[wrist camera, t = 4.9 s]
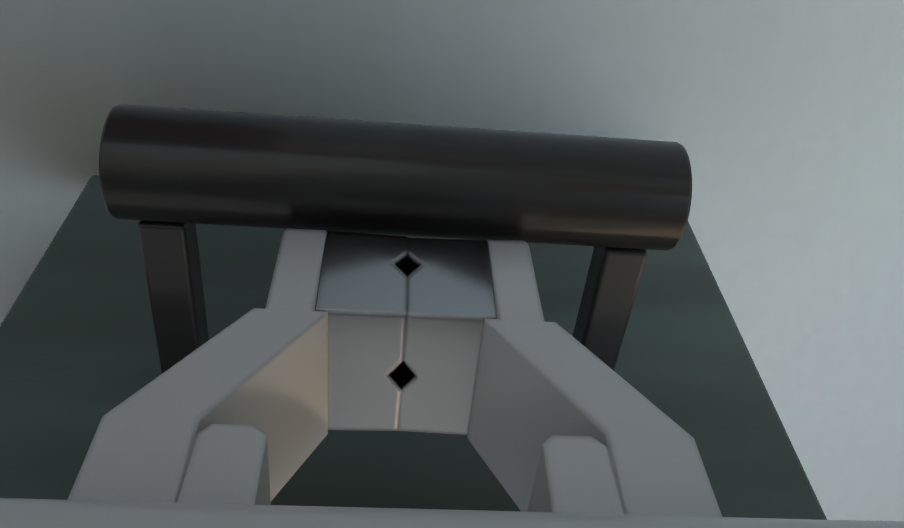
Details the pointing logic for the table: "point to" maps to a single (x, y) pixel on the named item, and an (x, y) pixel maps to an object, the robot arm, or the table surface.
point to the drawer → (386, 213)
